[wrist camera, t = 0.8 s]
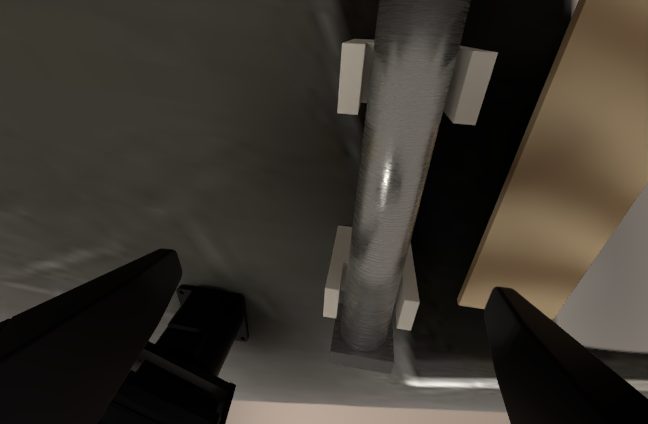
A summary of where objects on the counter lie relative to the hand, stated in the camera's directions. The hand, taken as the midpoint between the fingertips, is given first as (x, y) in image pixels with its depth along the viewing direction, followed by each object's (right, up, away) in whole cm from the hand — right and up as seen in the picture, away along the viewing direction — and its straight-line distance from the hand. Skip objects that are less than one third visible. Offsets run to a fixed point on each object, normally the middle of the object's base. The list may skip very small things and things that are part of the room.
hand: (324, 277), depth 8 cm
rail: (+3, +3, +8) cm, 9 cm away
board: (+15, +3, +10) cm, 18 cm away
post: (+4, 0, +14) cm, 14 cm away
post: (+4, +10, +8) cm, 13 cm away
